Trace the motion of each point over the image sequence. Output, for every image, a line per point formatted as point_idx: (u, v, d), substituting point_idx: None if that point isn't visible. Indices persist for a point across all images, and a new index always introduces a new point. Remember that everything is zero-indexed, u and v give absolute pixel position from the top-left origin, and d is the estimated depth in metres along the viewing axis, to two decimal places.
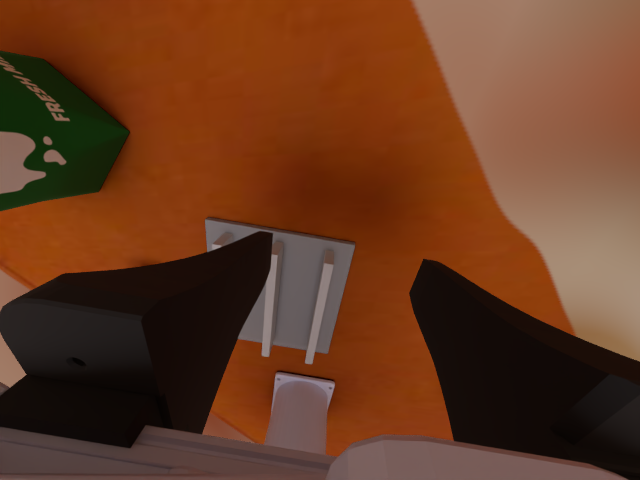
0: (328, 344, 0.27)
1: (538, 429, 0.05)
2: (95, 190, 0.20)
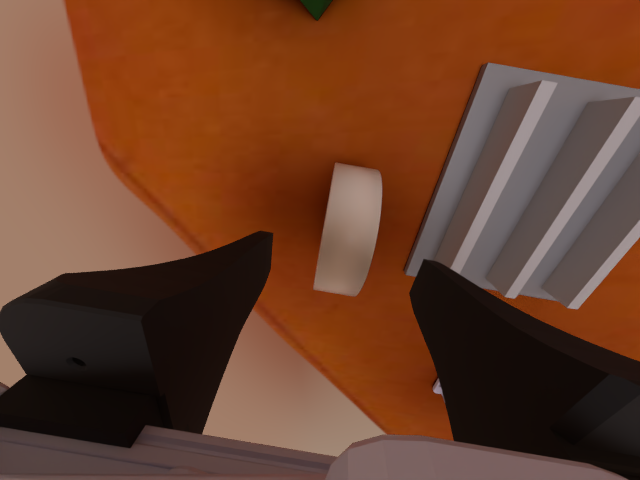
0: None
1: (538, 429, 0.05)
2: (323, 10, 0.13)
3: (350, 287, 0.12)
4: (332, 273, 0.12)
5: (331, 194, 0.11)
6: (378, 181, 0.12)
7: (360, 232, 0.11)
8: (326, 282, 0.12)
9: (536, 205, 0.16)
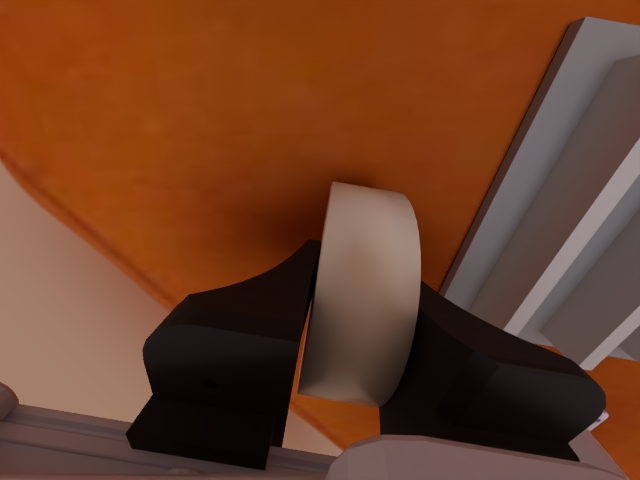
0: None
1: (428, 410, 0.05)
2: None
3: (359, 404, 0.07)
4: (327, 390, 0.06)
5: (324, 251, 0.06)
6: (410, 221, 0.06)
7: (382, 327, 0.05)
8: (316, 396, 0.07)
9: (633, 240, 0.11)
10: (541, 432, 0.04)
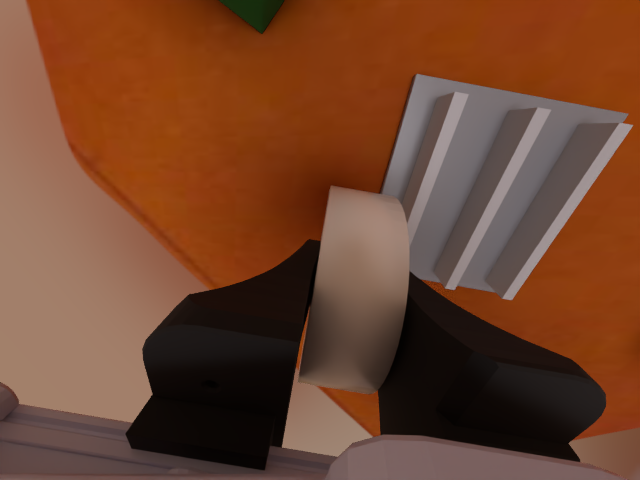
0: None
1: (429, 411, 0.05)
2: (265, 24, 0.14)
3: (354, 390, 0.08)
4: (325, 377, 0.07)
5: (322, 251, 0.06)
6: (401, 223, 0.07)
7: (374, 319, 0.06)
8: (315, 384, 0.08)
9: (470, 203, 0.17)
10: (541, 432, 0.04)
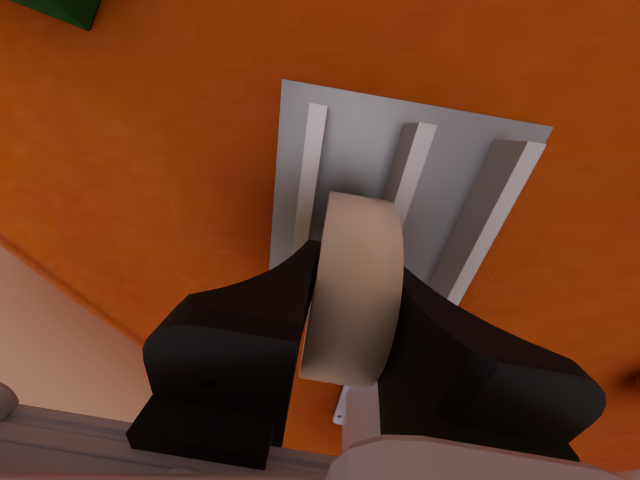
0: None
1: (428, 411, 0.05)
2: (82, 18, 0.11)
3: (352, 385, 0.08)
4: (324, 372, 0.07)
5: (322, 255, 0.07)
6: (396, 228, 0.07)
7: (370, 318, 0.07)
8: (315, 379, 0.08)
9: None
10: (541, 432, 0.04)
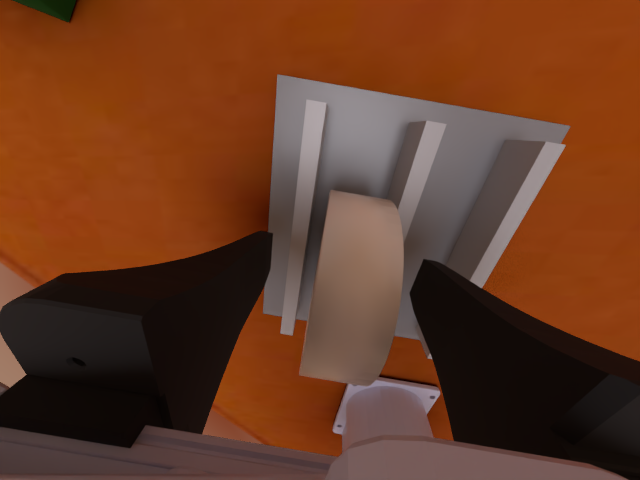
0: None
1: (538, 429, 0.05)
2: (60, 8, 0.10)
3: (353, 382, 0.08)
4: (325, 369, 0.07)
5: (323, 251, 0.07)
6: (396, 226, 0.08)
7: (370, 314, 0.07)
8: (316, 376, 0.08)
9: None
10: None
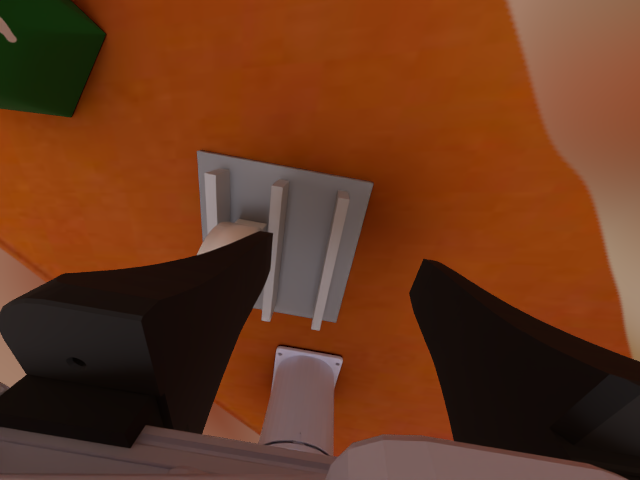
0: (337, 311, 0.24)
1: (538, 429, 0.05)
2: (66, 113, 0.17)
3: None
4: None
5: None
6: None
7: None
8: None
9: None
10: None
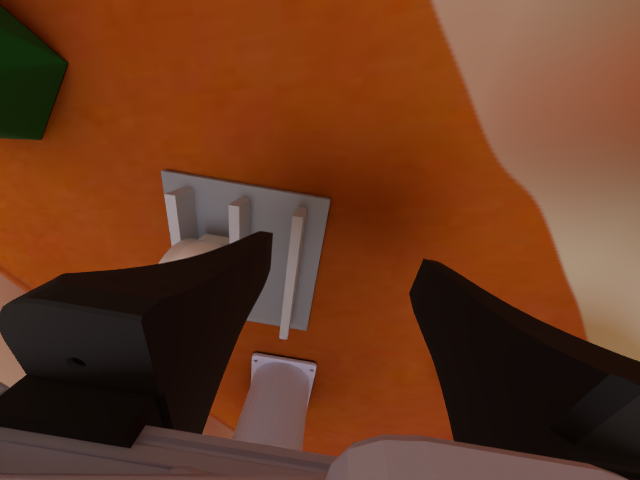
0: (306, 320, 0.24)
1: (538, 429, 0.05)
2: (35, 136, 0.18)
3: None
4: None
5: None
6: None
7: None
8: None
9: None
10: None
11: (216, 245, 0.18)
